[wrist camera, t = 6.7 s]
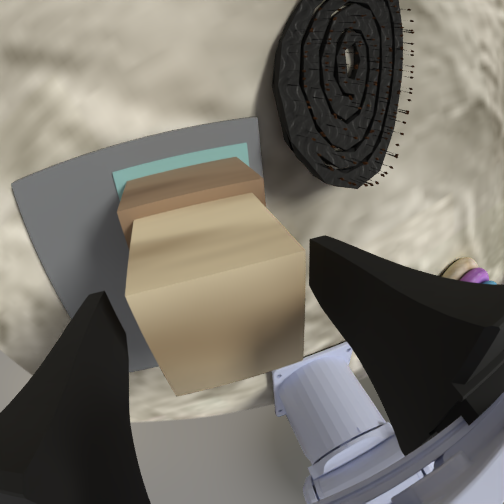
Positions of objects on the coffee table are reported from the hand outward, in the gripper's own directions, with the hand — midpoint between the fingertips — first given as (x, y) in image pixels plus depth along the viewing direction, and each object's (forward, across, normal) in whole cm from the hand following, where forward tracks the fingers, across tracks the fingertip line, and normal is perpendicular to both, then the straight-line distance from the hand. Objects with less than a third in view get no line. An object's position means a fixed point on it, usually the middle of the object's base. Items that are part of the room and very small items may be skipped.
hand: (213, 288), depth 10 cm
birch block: (+2, 0, 0) cm, 2 cm away
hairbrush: (+7, -12, -12) cm, 19 cm away
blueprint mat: (+7, +2, +3) cm, 8 cm away
